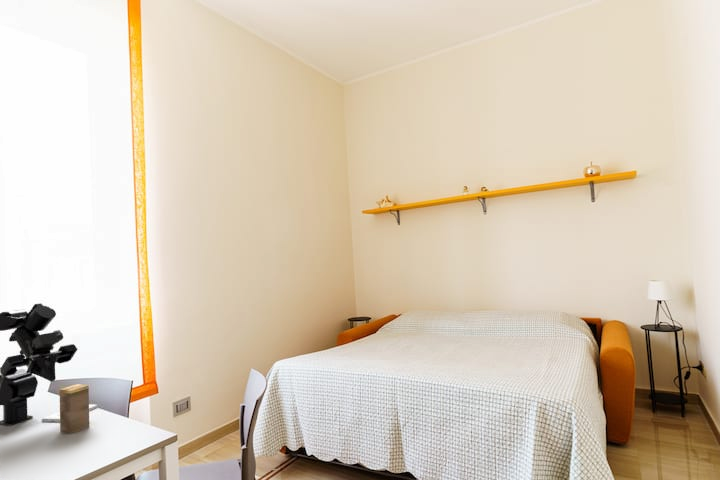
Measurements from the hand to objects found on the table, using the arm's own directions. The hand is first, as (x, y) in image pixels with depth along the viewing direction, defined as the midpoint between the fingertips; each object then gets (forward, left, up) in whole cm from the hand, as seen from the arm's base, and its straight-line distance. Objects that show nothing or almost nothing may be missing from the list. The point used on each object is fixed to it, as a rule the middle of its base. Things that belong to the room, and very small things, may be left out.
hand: (53, 380), depth 124 cm
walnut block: (+9, 0, -13) cm, 16 cm away
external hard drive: (-6, +8, -14) cm, 17 cm away
